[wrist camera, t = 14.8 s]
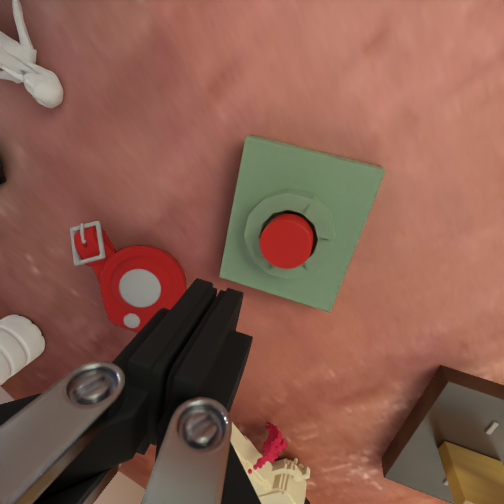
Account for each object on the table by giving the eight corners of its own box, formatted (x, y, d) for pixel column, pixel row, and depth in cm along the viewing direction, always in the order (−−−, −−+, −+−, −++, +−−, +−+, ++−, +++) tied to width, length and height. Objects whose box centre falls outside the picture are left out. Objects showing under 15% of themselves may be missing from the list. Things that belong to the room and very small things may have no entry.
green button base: (252, 134, 24) (238, 136, 20) (381, 166, 23) (389, 174, 19) (226, 266, 29) (211, 287, 26) (330, 299, 28) (329, 325, 24)
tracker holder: (196, 262, 28) (163, 353, 30) (201, 250, 33) (172, 331, 35) (62, 215, 27) (37, 315, 29) (86, 210, 31) (62, 297, 33)
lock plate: (440, 364, 28) (448, 382, 26) (562, 404, 26) (580, 426, 24) (380, 458, 33) (383, 479, 31) (477, 495, 32) (486, 519, 30)
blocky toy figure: (149, 353, 38) (271, 502, 40) (95, 407, 30) (251, 590, 32) (203, 317, 34) (337, 486, 35) (158, 370, 26) (333, 583, 28)
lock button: (270, 207, 22) (265, 213, 21) (319, 221, 22) (318, 228, 20) (260, 251, 24) (254, 260, 22) (305, 265, 23) (303, 275, 22)
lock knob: (437, 449, 29) (457, 513, 24) (444, 440, 28) (466, 503, 23) (493, 470, 28) (525, 540, 23) (502, 461, 27) (536, 531, 23)
